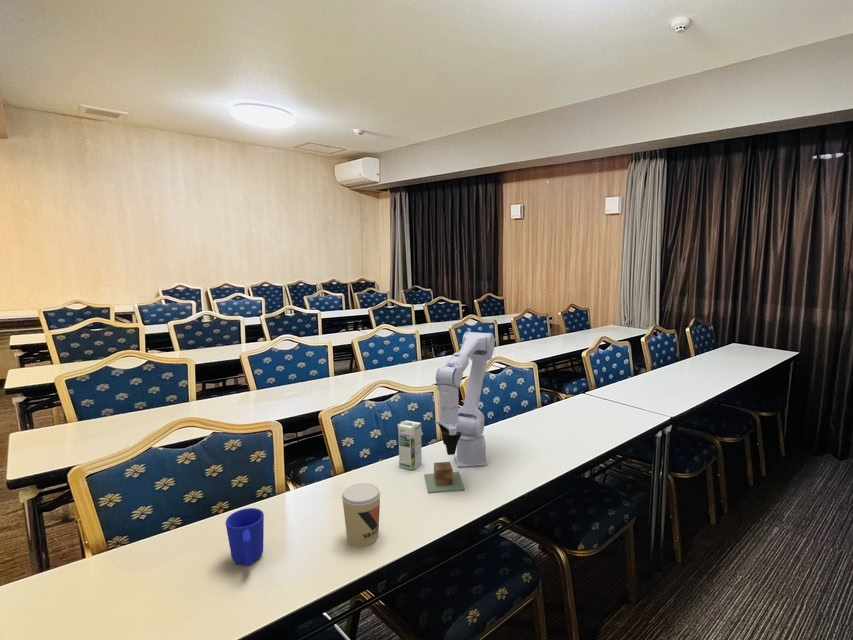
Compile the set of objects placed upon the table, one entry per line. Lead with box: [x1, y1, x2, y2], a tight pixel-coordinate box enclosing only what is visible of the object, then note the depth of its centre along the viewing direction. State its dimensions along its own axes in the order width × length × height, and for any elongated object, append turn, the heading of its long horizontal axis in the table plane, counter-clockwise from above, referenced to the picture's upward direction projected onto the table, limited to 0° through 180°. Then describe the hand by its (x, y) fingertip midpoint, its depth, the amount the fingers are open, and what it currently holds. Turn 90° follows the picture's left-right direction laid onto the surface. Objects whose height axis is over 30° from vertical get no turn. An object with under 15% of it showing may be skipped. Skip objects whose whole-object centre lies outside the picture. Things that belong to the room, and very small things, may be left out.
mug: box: [225, 507, 265, 567], centre depth 106 cm, size 8×12×10 cm
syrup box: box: [397, 420, 423, 471], centre depth 152 cm, size 6×6×14 cm
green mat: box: [423, 471, 466, 494], centre depth 142 cm, size 11×11×1 cm
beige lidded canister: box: [341, 482, 381, 547], centre depth 115 cm, size 9×9×12 cm
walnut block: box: [433, 461, 454, 486], centre depth 141 cm, size 5×5×5 cm
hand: (449, 449), depth 141 cm, fingers open, 7 cm apart
